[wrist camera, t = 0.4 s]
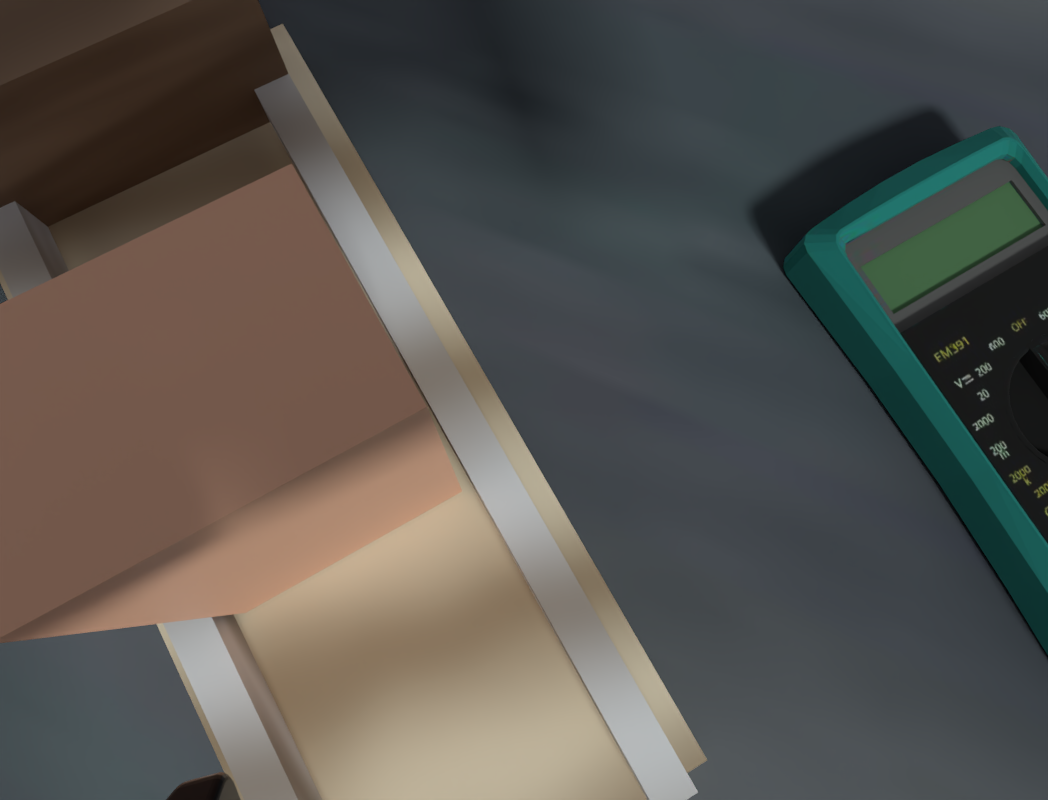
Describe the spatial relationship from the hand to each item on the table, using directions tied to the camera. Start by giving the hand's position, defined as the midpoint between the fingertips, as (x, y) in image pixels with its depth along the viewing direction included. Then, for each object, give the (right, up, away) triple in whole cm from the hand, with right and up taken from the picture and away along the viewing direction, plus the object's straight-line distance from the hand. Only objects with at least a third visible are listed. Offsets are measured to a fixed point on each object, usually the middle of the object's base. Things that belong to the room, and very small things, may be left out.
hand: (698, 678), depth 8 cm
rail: (-7, +1, +14) cm, 16 cm away
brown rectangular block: (-7, +1, +12) cm, 14 cm away
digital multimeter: (+12, +2, +16) cm, 20 cm away
